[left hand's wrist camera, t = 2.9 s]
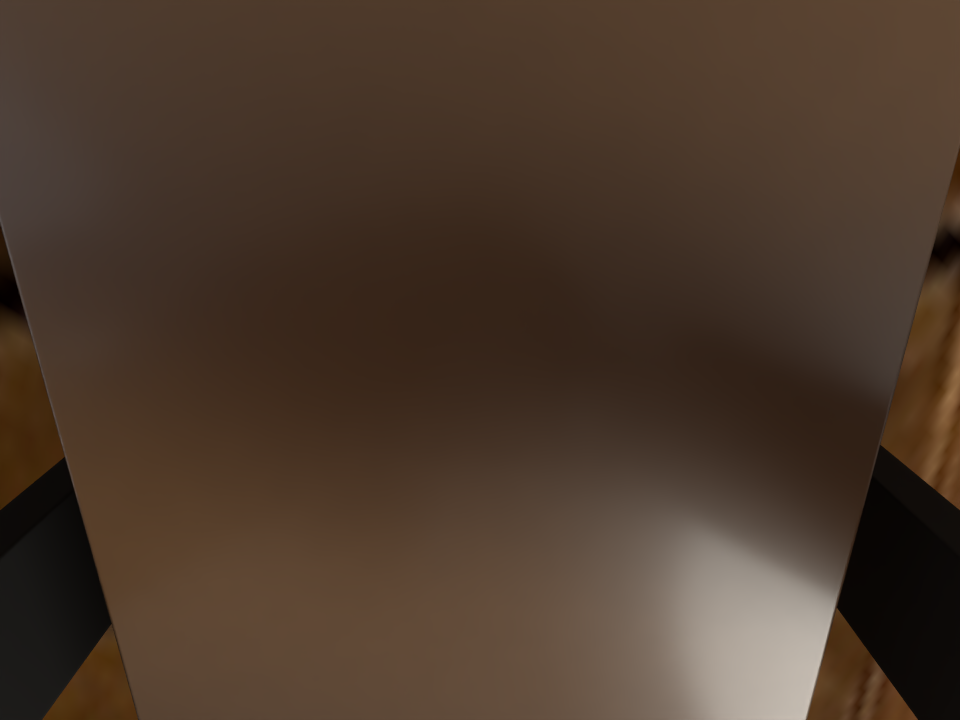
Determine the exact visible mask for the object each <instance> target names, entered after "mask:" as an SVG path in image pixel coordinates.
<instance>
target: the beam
mask: <svg viewBox="0 0 960 720" xmlns="http://www.w3.org/2000/svg"><path fill="white" fill-rule="evenodd" d="M959 148H960V0H0V226H1V229H2V233H3V236H4V240H5V243H6V247H7V251H8V254H9V258H10V261H11V265H12V269H13V272H14V276H15V279H16V283H17V286H18V290H19V294H20V297H21V301H22V304H23V308H24V311H25V315H26V319H27V322H28V326H29V329H30V333H31V337H32V340H33V344H34V347H35V351H36V354H37V358H38V362H39V365H40V369H41V372H42V376H43V380H44V383H45V387H46V390H47V394H48V397H49V401H50V405H51V408H52V412H53V415H54V419H55V422H56V426H57V430H58V433H59V437H60V440H61V444H62V448H63V451H64V455H65V458H66V462H67V465H68V469H69V473H70V476H71V480H72V483H73V487H74V491H75V494H76V498H77V501H78V505H79V508H80V512H81V516H82V519H83V523H84V526H85V530H86V534H87V537H88V541H89V544H90V548H91V551H92V555H93V559H94V562H95V566H96V569H97V573H98V576H99V580H100V584H101V587H102V591H103V594H104V598H105V602H106V605H107V609H108V612H109V616H110V619H111V623H112V627H113V630H114V634H115V637H116V641H117V645H118V648H119V652H120V655H121V659H122V662H123V666H124V670H125V673H126V677H127V680H128V684H129V687H130V691H131V695H132V698H133V702H134V705H135V709H136V713H137V716H138V720H807V717H808V713H809V709H810V706H811V702H812V698H813V694H814V691H815V687H816V683H817V679H818V676H819V672H820V668H821V664H822V661H823V657H824V653H825V649H826V646H827V642H828V638H829V634H830V631H831V627H832V623H833V620H834V616H835V612H836V608H837V605H838V601H839V597H840V593H841V590H842V586H843V582H844V578H845V575H846V571H847V567H848V563H849V560H850V556H851V552H852V548H853V545H854V541H855V537H856V533H857V530H858V526H859V522H860V518H861V515H862V511H863V507H864V503H865V500H866V496H867V492H868V488H869V485H870V481H871V477H872V473H873V470H874V466H875V462H876V458H877V455H878V451H879V447H880V443H881V440H882V436H883V432H884V428H885V425H886V421H887V417H888V414H889V410H890V406H891V402H892V399H893V395H894V391H895V387H896V384H897V380H898V376H899V372H900V369H901V365H902V361H903V357H904V354H905V350H906V346H907V342H908V339H909V335H910V331H911V327H912V324H913V320H914V316H915V312H916V309H917V305H918V301H919V297H920V294H921V290H922V286H923V282H924V279H925V275H926V271H927V267H928V264H929V260H930V256H931V252H932V249H933V245H934V241H935V237H936V234H937V230H938V226H939V223H940V219H941V215H942V211H943V208H944V204H945V200H946V196H947V193H948V189H949V185H950V181H951V178H952V174H953V170H954V166H955V163H956V159H957V155H958V151H959Z"/></svg>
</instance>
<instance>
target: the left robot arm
mask: <svg viewBox="0 0 960 720" xmlns="http://www.w3.org/2000/svg"><path fill="white" fill-rule="evenodd" d="M837 608H838V610H839V611H840V612H841V614H842V615H843V617H844V618H845V619H846V621H847V622H848V623H849V625H850V626H851V628H852V629H853V630H854V632H855V633H856V635H857V636H858V637H859V639H860V640H861V641H862V643H863V644H864V646H865V647H866V648H867V650H868V651H869V653H870V654H871V655H872V657H873V658H874V659H875V661H876V662H877V664H878V665H879V666H880V668H881V669H882V670H883V672H884V673H885V675H886V676H887V677H888V679H889V680H890V682H891V683H892V684H893V686H894V687H895V688H896V690H897V691H898V693H899V694H900V695H901V697H902V698H903V700H904V701H905V702H906V704H907V705H908V706H909V708H910V709H911V711H912V712H913V713H914V715H915V716H916V717H917V719H918V720H960V510H959V509H957V508H956V507H955V506H954V505H953V504H951V503H950V502H949V501H948V500H947V499H945V498H944V497H943V496H942V495H940V494H939V493H938V492H937V491H936V490H934V489H933V488H932V487H931V486H930V485H928V484H927V483H926V482H925V481H924V480H922V479H921V478H920V477H919V476H917V475H916V474H915V473H914V472H913V471H911V470H910V469H909V468H908V467H907V466H905V465H904V464H903V463H902V462H901V461H899V460H898V459H897V458H896V457H894V456H893V455H892V454H891V453H890V452H888V451H887V450H886V449H885V448H884V447H882V446H881V445H880V447H879V451H878V455H877V458H876V462H875V466H874V470H873V473H872V477H871V481H870V485H869V488H868V492H867V496H866V500H865V503H864V507H863V511H862V515H861V518H860V522H859V526H858V530H857V533H856V537H855V541H854V545H853V548H852V552H851V556H850V560H849V563H848V567H847V571H846V575H845V578H844V582H843V586H842V590H841V593H840V597H839V601H838V605H837ZM110 625H111V619H110V616H109V612H108V609H107V605H106V602H105V598H104V594H103V591H102V587H101V584H100V580H99V576H98V573H97V569H96V566H95V562H94V559H93V555H92V551H91V548H90V544H89V541H88V537H87V534H86V530H85V526H84V523H83V519H82V516H81V512H80V508H79V505H78V501H77V498H76V494H75V491H74V487H73V483H72V480H71V476H70V473H69V469H68V465H67V462H66V458H65V457H64V458H63V459H62V460H61V461H59V462H58V463H57V464H56V465H55V466H53V467H52V468H51V469H50V470H49V471H47V472H46V473H45V474H44V475H42V476H41V477H40V478H39V479H38V480H36V481H35V482H34V483H33V484H32V485H30V486H29V487H28V488H27V489H26V490H24V491H23V492H22V493H21V494H19V495H18V496H17V497H16V498H15V499H13V500H12V501H11V502H10V503H9V504H7V505H6V506H5V507H4V508H3V509H1V510H0V720H42V719H43V717H44V716H45V715H46V713H47V712H48V711H49V709H50V708H51V706H52V705H53V704H54V702H55V701H56V699H57V698H58V697H59V695H60V694H61V693H62V691H63V690H64V688H65V687H66V686H67V684H68V683H69V682H70V680H71V679H72V677H73V676H74V675H75V673H76V672H77V670H78V669H79V668H80V666H81V665H82V664H83V662H84V661H85V659H86V658H87V657H88V655H89V654H90V652H91V651H92V650H93V648H94V647H95V646H96V644H97V643H98V641H99V640H100V639H101V637H102V636H103V635H104V633H105V632H106V630H107V629H108V628H109V626H110Z"/></svg>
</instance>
